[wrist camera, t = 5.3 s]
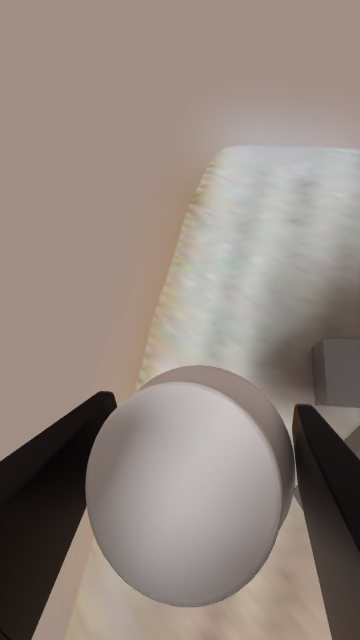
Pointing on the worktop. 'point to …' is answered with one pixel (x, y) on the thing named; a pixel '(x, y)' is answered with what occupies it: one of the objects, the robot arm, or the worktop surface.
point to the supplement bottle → (190, 485)
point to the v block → (337, 381)
